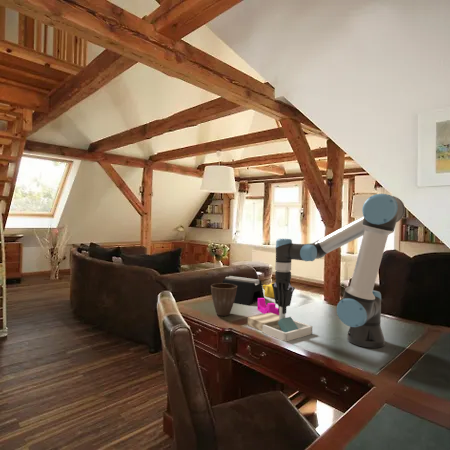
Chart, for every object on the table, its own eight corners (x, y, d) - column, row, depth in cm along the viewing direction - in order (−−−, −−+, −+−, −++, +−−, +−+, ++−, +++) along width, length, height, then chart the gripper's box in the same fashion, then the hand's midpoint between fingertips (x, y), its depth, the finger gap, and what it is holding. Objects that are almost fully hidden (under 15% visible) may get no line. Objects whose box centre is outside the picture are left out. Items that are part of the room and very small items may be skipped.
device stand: (248, 306, 202) (249, 282, 202) (218, 301, 214) (218, 278, 214) (264, 299, 221) (264, 277, 220) (235, 295, 233) (236, 274, 233)
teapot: (285, 300, 220) (285, 285, 220) (266, 300, 218) (267, 285, 218) (278, 295, 233) (279, 281, 233) (261, 296, 231) (261, 281, 231)
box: (312, 333, 153) (312, 326, 153) (285, 341, 142) (285, 333, 142) (288, 325, 165) (288, 318, 165) (262, 332, 154) (262, 325, 154)
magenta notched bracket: (279, 317, 180) (279, 303, 180) (269, 318, 178) (269, 304, 178) (266, 310, 194) (267, 297, 194) (257, 310, 192) (257, 298, 192)
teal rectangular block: (295, 332, 154) (298, 329, 152) (285, 335, 150) (288, 332, 148) (287, 320, 158) (290, 316, 157) (277, 322, 154) (280, 319, 152)
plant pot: (231, 309, 193) (231, 282, 193) (240, 316, 179) (241, 287, 179) (207, 311, 188) (207, 283, 188) (214, 318, 174) (215, 288, 174)
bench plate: (287, 325, 164) (287, 318, 164) (264, 331, 155) (264, 323, 155) (270, 320, 174) (270, 312, 174) (247, 325, 164) (247, 317, 164)
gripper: (299, 272, 153) (297, 322, 153) (278, 268, 164) (277, 315, 164) (288, 273, 149) (287, 324, 149) (268, 269, 159) (266, 317, 159)
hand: (282, 319), depth 156 cm, fingers closed
